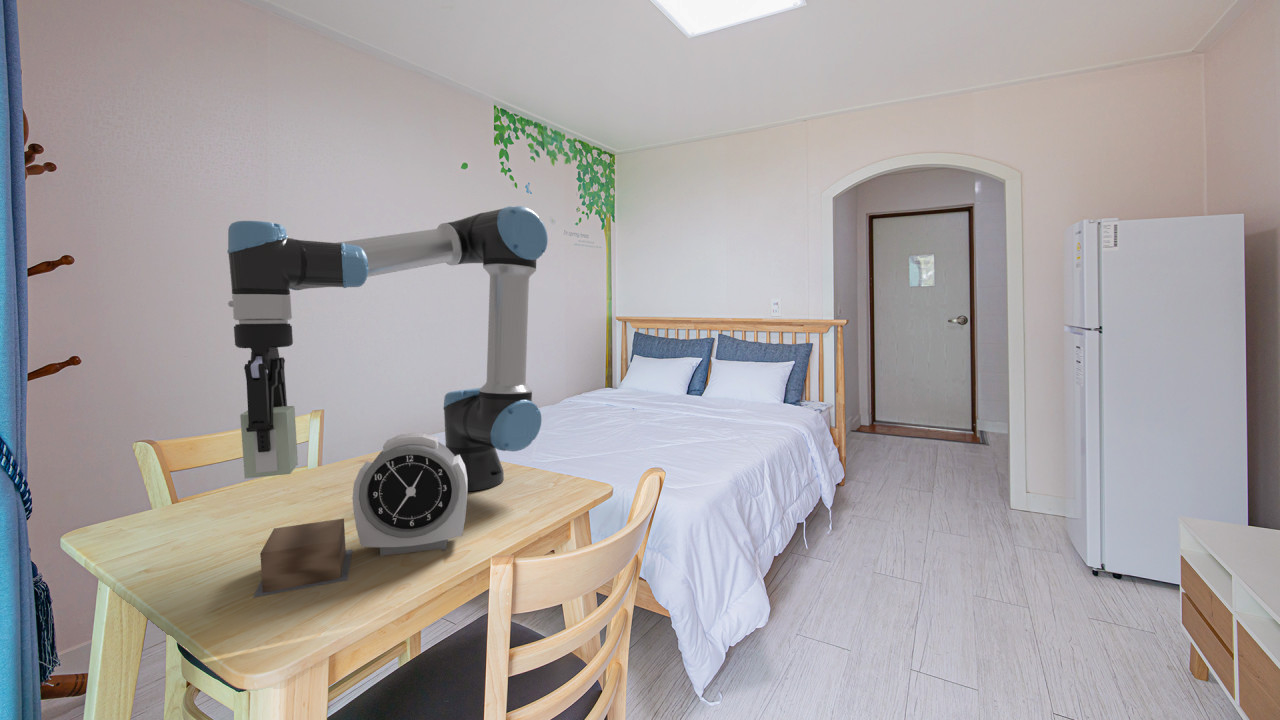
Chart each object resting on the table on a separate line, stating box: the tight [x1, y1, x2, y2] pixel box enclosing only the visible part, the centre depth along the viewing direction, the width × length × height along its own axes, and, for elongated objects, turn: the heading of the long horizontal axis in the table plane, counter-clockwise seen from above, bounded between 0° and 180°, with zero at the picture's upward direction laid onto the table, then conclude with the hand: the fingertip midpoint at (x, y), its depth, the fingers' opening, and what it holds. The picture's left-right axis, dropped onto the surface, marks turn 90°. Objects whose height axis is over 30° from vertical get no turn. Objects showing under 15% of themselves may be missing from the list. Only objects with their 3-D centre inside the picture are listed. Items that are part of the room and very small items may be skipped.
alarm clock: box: [351, 432, 468, 557], centre depth 94 cm, size 18×8×20 cm, turn 106°
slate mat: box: [252, 548, 353, 599], centre depth 85 cm, size 12×12×1 cm
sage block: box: [239, 405, 299, 479], centre depth 86 cm, size 6×6×10 cm
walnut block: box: [260, 518, 347, 593], centre depth 85 cm, size 10×10×6 cm
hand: (272, 465), depth 86 cm, fingers closed on sage block, 6 cm apart
